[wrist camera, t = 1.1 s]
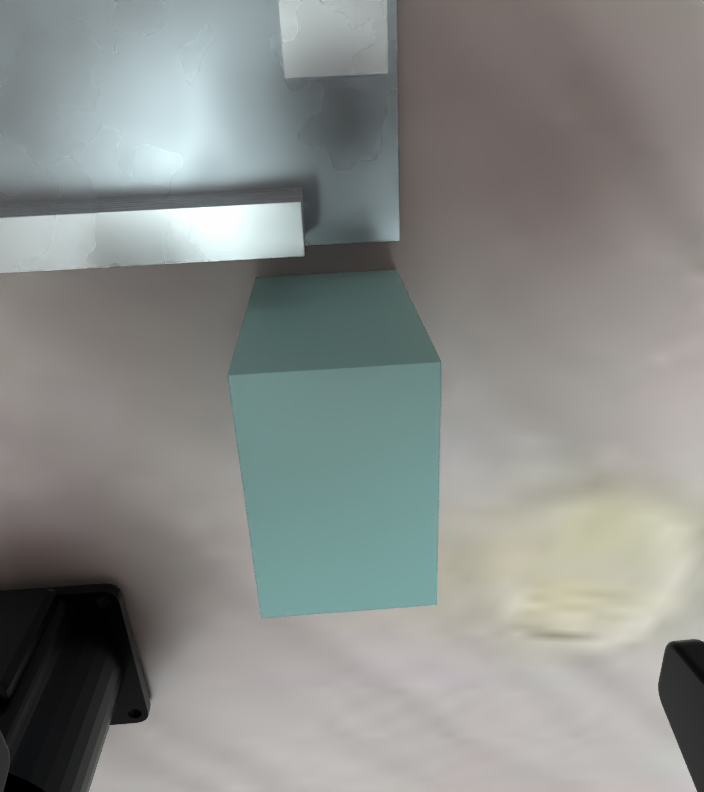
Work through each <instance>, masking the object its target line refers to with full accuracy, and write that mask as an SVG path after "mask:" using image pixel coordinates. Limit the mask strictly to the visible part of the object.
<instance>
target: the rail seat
mask: <svg viewBox="0 0 704 792" xmlns="http://www.w3.org/2000/svg"><path fill="white" fill-rule="evenodd" d="M382 241H399V147H398V49H397V0H0V273H13V272H31V271H49V270H67V269H85V268H102V267H120V266H138V265H156V264H174V263H192V262H210V261H227V260H245V259H263V258H281V257H299V256H305V246H310V245H328V244H346V243H364V242H382Z"/></svg>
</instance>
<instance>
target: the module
mask: <svg viewBox="0 0 704 792" xmlns="http://www.w3.org/2000/svg"><path fill="white" fill-rule="evenodd" d="M228 380H229V388H230V395H231V402H232V410H233V417H234V424H235V431H236V439H237V446H238V453H239V460H240V468H241V475H242V482H243V489H244V497H245V504H246V511H247V519H248V526H249V533H250V540H251V548H252V555H253V562H254V569H255V577H256V584H257V591H258V598H259V606H260V613H261V618H270V617H283V616H297V615H310V614H323V613H336V612H349V611H362V610H375V609H388V608H401V607H414V606H428V605H437V562H438V511H439V459H440V407H441V360H440V358H439V356H438V354H437V352H436V350H435V348H434V346H433V344H432V342H431V340H430V338H429V336H428V334H427V332H426V330H425V328H424V326H423V324H422V321H421V319H420V317H419V315H418V313H417V311H416V309H415V307H414V305H413V303H412V301H411V299H410V297H409V295H408V293H407V291H406V289H405V287H404V285H403V283H402V281H401V279H400V277H399V274H398V272H397V270H378V271H361V272H343V273H326V274H308V275H291V276H273V277H256V279H255V283H254V286H253V290H252V293H251V297H250V300H249V304H248V307H247V311H246V314H245V318H244V321H243V324H242V328H241V331H240V335H239V338H238V342H237V345H236V349H235V352H234V356H233V359H232V363H231V366H230V370H229V373H228Z"/></svg>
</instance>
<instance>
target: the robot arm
mask: <svg viewBox="0 0 704 792" xmlns="http://www.w3.org/2000/svg"><path fill="white" fill-rule="evenodd" d="M102 597H106V598H108V599H110V600H105V599H103V598H102ZM658 691H659V696H660V700H661V703H662V706H663V708H664V711H665V713H666V716H667V718H668V720H669V723H670V725H671V728H672V730H673V733H674V735H675V738H676V740H677V743H678V745H679V748H680V750H681V753H682V755H683V758H684V760H685V763H686V765H687V767H688V770H689V772H690V775H691V777H692V780H693V782H694V785H695V787H696V790H697V792H704V642H703V641H700V640H697V639H690V640H680V641H672V642H669V643H668V645H667V646H666V648H665V652H664V657H663V662H662V667H661V672H660V677H659V683H658ZM149 710H150V700H149V696H148V692H147V688H146V684H145V680H144V676H143V672H142V669H141V665H140V661H139V657H138V653H137V649H136V645H135V641H134V637H133V633H132V630H131V626H130V622H129V618H128V614H127V610H126V606H125V602H124V598H123V594H122V592H121V590H120V589H119V588H118V587H117V586H115V585H112V584H92V585H78V586H64V587H51V588H37V589H24V590H10V591H0V792H89V789H90V786H91V782H92V779H93V776H94V773H95V770H96V767H97V763H98V760H99V757H100V754H101V751H102V748H103V744H104V741H105V738H106V735H107V732H108V729H109V725H115V724H128V723H138V722H142V721H144V720H146V718H147V717H148V714H149Z"/></svg>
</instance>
